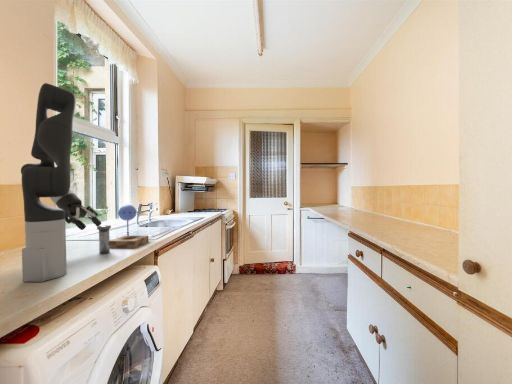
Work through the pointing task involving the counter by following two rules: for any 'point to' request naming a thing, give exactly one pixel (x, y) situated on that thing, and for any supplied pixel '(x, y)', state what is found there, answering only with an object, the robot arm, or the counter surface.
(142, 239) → the hole block
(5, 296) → the counter surface
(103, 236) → the pin
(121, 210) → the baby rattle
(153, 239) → the counter surface
